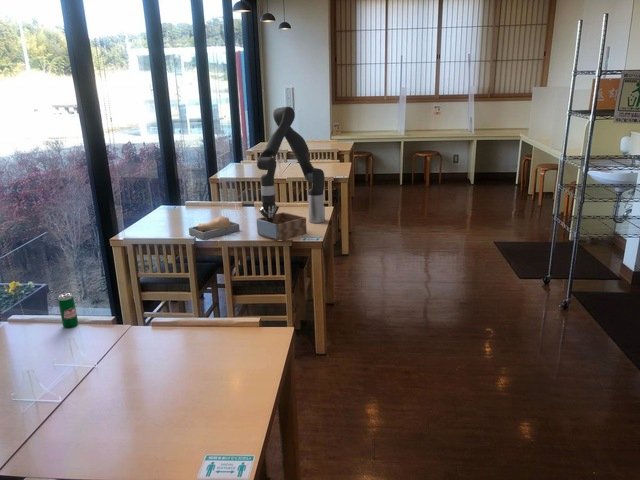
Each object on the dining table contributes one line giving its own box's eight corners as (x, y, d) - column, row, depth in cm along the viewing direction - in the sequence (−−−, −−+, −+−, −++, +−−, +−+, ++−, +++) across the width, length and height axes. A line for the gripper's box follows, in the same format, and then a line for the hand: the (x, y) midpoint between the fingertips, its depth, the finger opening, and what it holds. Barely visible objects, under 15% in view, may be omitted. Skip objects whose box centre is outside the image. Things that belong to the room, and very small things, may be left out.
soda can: (66, 330, 178) (60, 299, 175) (60, 325, 181) (54, 295, 178) (80, 324, 182) (75, 294, 178) (74, 321, 185) (69, 291, 181)
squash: (230, 234, 287) (226, 220, 283) (197, 238, 290) (192, 224, 286) (234, 226, 297) (230, 212, 293) (202, 230, 300) (198, 216, 296)
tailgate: (259, 232, 285) (258, 219, 282) (277, 238, 273) (277, 224, 271) (257, 233, 284) (256, 219, 282) (276, 238, 272) (275, 224, 270)
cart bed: (284, 227, 299) (283, 212, 296) (306, 233, 286) (306, 217, 283) (258, 234, 286) (257, 218, 284) (280, 241, 273) (279, 224, 270)
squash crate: (224, 225, 306) (224, 219, 305) (239, 230, 296) (239, 224, 294) (189, 234, 290) (188, 228, 289) (203, 239, 279) (202, 233, 278)
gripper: (273, 190, 280) (274, 220, 285) (254, 194, 271) (256, 225, 276) (281, 192, 275) (283, 222, 280) (262, 196, 266) (264, 227, 271)
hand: (269, 224), depth 278 cm, fingers closed
